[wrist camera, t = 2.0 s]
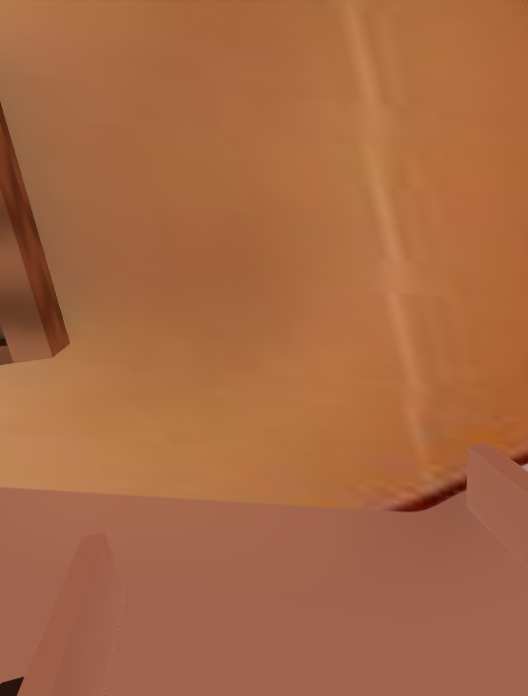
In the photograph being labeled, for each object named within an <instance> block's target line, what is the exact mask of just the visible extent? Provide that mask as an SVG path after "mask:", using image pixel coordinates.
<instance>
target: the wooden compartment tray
mask: <svg viewBox="0 0 528 696" xmlns="http://www.w3.org/2000/svg"><path fill="white" fill-rule="evenodd" d="M69 344H70V342H69V339H68V335H67V332H66V329H65V325H64V322H63V318H62V315H61V311H60V308H59V304H58V301H57V297H56V294H55V290H54V287H53V284H52V280H51V277H50V273H49V270H48V266H47V263H46V259H45V256H44V252H43V249H42V245H41V242H40V239H39V235H38V232H37V228H36V225H35V221H34V218H33V214H32V211H31V207H30V204H29V200H28V197H27V193H26V190H25V187H24V183H23V180H22V176H21V173H20V169H19V166H18V162H17V159H16V155H15V152H14V148H13V145H12V142H11V138H10V135H9V131H8V128H7V124H6V121H5V117H4V114H3V110H2V107H1V103H0V365H3V364H10V363H17V362H24V361H31V360H38V359H45V358H52V357H54V356H55V355H56V354H57V353H59V352H60V351H61V350H62V349H64V348H65V347H66V346H67V345H69Z"/></svg>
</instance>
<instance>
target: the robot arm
mask: <svg viewBox="0 0 528 696" xmlns="http://www.w3.org/2000/svg"><path fill="white" fill-rule="evenodd" d="M466 497H467V498H466V507H467V508H468V509H469V510H470V511H471V512H472V513H473V514H474V515H475V516H476V517H477V518H478V519H479V520H480V521H481V522H482V523H483V524H484V525H485V527H487V529H488V530H489V531H490V532H491V533H492V534H493V535H494V536H495V537H496V538H497V539H498V540H499V541H500V542H501V543H502V544H503V545H504V546H505V547H506V548H507V549H508V550H509V551H510V552H511V553H512V554H513V555H514V556H515V557H516V558H517V559H518V560H519V561H520V562H521V563H522V564H523V565H524V566H525V567H526V568H527V569H528V471H526V470H525V469H523V468H522V467H521V466H519V465H518V464H517V463H515V462H514V461H512V460H511V459H510V458H508V457H507V456H505V455H504V454H503V453H501V452H500V451H498V450H497V449H496V448H494V447H493V446H491V445H490V444H489V443H483V444H479V445H475V446H471V447H469V449H468V473H467V496H466ZM126 594H127V592H126V590H125V587H124V584H123V581H122V578H121V576H120V573H119V570H118V567H117V564H116V562H115V559H114V556H113V553H112V550H111V548H110V545H109V542H108V539H107V537H106V534H105V532H104V533H99V534H96V535H91V536H87V537H82V538H81V539H80V541H79V544H78V546H77V549H76V552H75V554H74V556H73V559H72V561H71V564H70V566H69V569H68V571H67V573H66V576H65V578H64V581H63V584H62V586H61V588H60V591H59V593H58V596H57V598H56V601H55V603H54V605H53V608H52V610H51V613H50V615H49V618H48V620H47V623H46V625H45V628H44V630H43V633H42V635H41V638H40V640H39V642H38V645H37V648H36V650H35V652H34V655H33V657H32V660H31V662H30V665H29V667H28V670H27V672H26V674H25V677H21V678H17V679H14V680H10V681H7V682H3V683H1V684H0V696H105V692H106V687H107V682H108V678H109V673H110V668H111V664H112V659H113V655H114V650H115V645H116V640H117V636H118V631H119V627H120V622H121V617H122V613H123V608H124V603H125V598H126Z"/></svg>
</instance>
